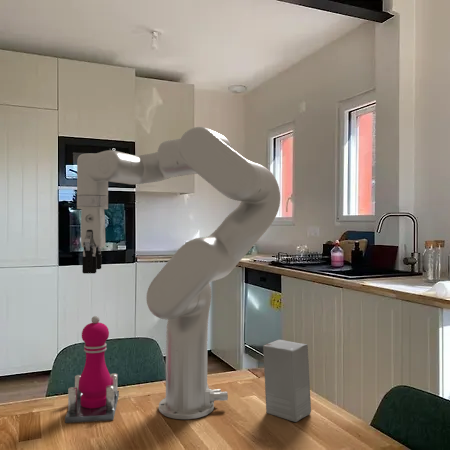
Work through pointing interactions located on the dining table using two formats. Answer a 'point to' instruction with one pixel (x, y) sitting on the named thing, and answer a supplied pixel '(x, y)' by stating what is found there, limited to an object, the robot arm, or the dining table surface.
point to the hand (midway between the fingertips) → (92, 271)
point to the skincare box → (287, 379)
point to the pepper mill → (94, 365)
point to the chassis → (91, 414)
